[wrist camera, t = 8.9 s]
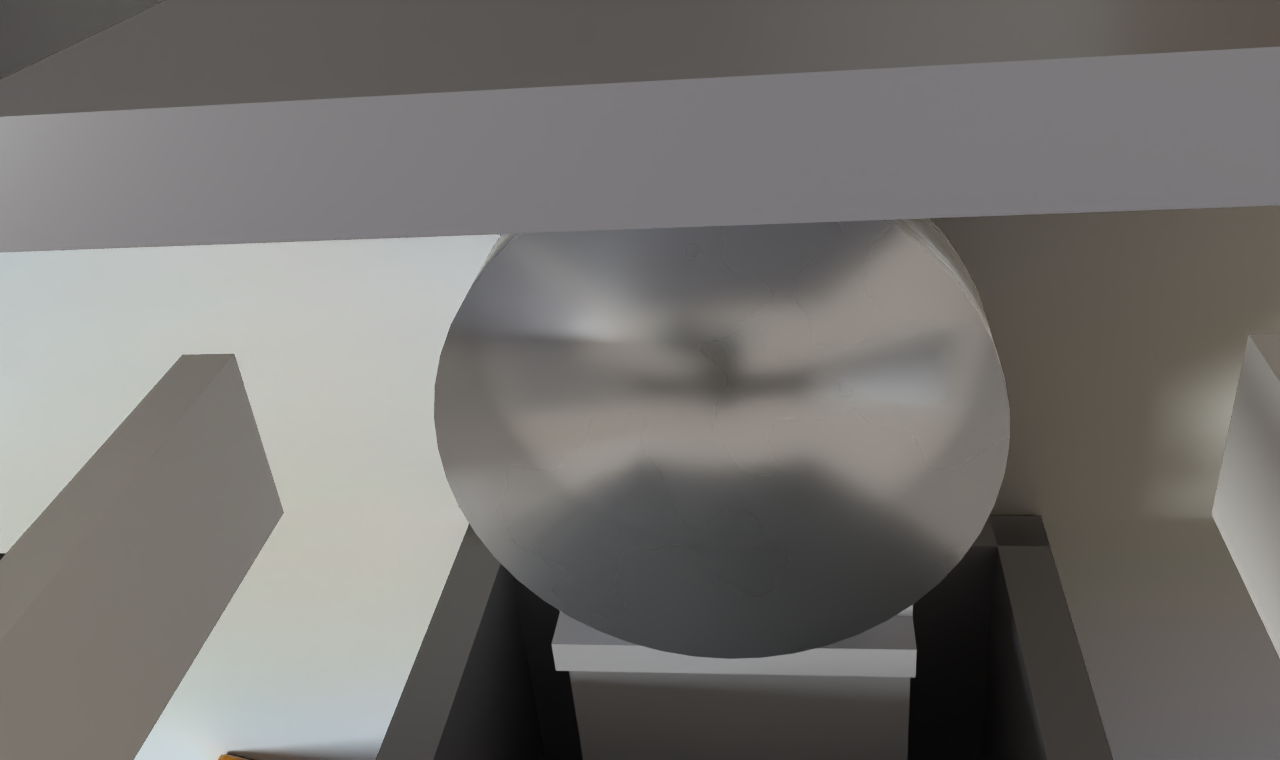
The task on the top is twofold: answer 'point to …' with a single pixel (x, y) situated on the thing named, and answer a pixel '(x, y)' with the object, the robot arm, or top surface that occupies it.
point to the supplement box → (230, 757)
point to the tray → (644, 188)
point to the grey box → (939, 694)
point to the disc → (725, 426)
